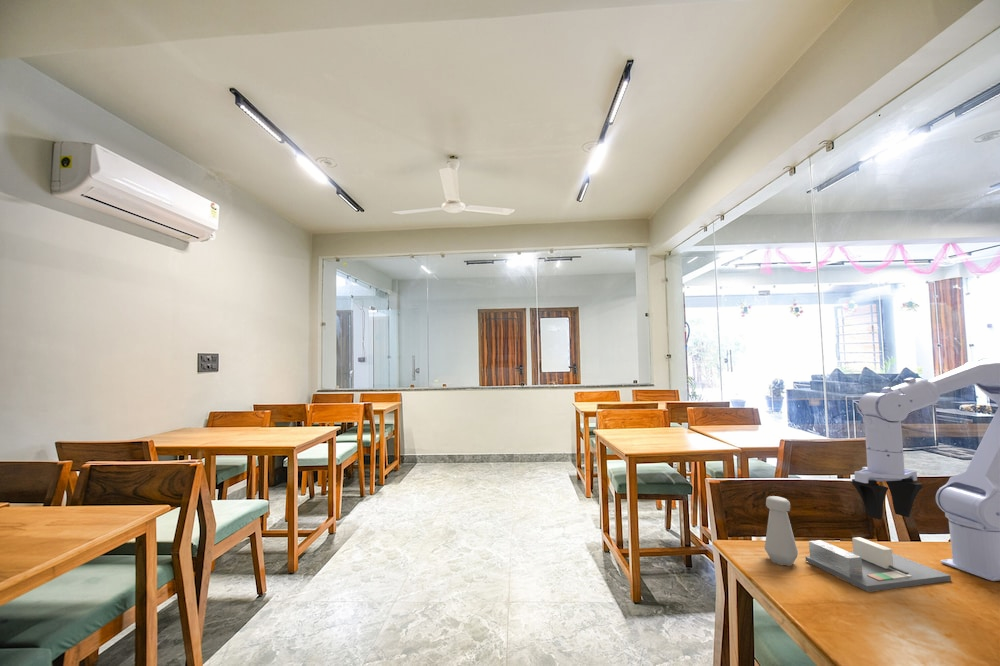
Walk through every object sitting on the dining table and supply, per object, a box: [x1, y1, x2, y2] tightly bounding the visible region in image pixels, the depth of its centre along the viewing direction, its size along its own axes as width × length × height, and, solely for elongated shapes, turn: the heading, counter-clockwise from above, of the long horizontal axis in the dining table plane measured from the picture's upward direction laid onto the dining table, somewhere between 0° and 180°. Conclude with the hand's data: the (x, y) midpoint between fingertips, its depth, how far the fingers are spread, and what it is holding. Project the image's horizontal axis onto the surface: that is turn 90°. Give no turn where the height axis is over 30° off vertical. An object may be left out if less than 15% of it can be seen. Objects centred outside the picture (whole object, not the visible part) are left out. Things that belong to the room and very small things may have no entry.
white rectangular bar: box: [851, 536, 909, 575], centre depth 81 cm, size 2×9×4 cm, turn 12°
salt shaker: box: [764, 495, 798, 567], centre depth 86 cm, size 6×6×13 cm
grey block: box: [808, 539, 863, 578], centre depth 81 cm, size 3×8×4 cm, turn 12°
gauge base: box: [805, 551, 952, 593], centre depth 81 cm, size 20×12×1 cm, turn 102°
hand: (888, 516), depth 84 cm, fingers open, 7 cm apart
